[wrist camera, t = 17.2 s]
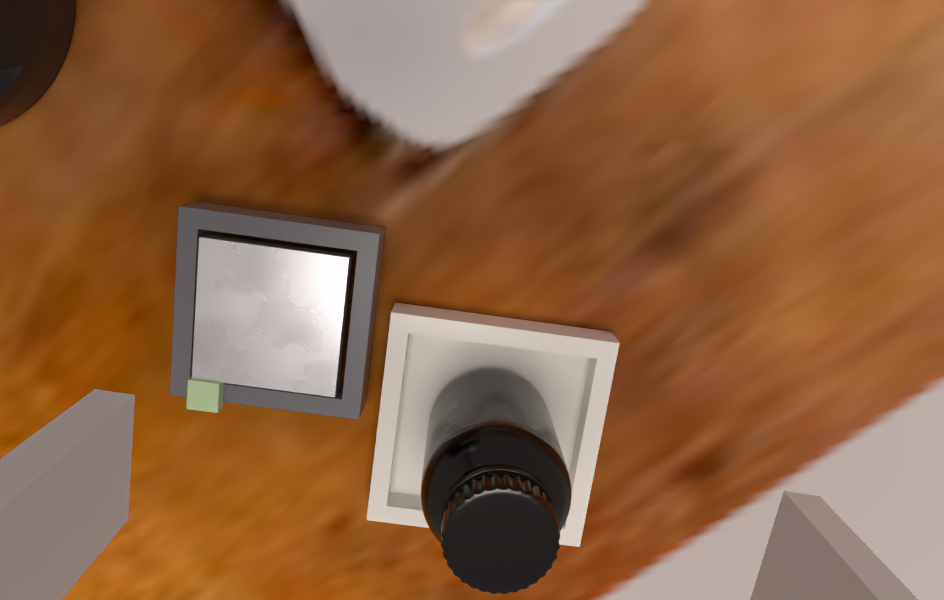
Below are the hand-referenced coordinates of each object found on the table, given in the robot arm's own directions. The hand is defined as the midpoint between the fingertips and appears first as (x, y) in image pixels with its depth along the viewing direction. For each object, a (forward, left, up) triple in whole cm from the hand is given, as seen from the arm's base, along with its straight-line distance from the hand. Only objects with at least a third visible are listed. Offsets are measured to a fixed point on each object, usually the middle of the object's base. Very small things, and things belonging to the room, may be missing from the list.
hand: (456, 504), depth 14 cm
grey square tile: (-10, -3, -23) cm, 25 cm away
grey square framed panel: (-10, -3, -25) cm, 27 cm away
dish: (+2, -8, -25) cm, 26 cm away
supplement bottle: (+3, -8, -24) cm, 26 cm away
